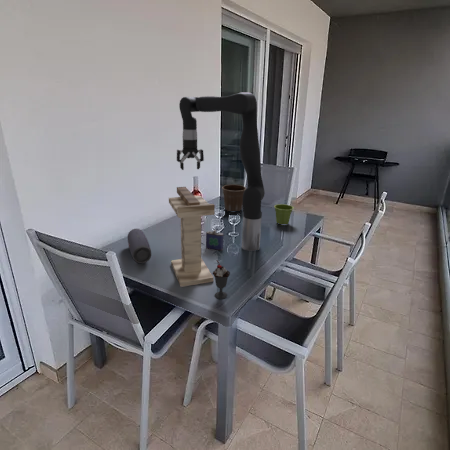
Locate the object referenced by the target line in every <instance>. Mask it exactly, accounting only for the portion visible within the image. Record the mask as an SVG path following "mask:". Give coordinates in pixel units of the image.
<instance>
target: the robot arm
mask: <svg viewBox="0 0 450 450" xmlns="http://www.w3.org/2000/svg"><path fill="white" fill-rule="evenodd" d="M179 112H180V115H181V119H182V149H180V150H179V149H176V161H177V162H178V163H179V165H180V166H179V167H180V169H181V171H184V169H185V167H184V162H185V160H186V159H195V160H196V169H197V170H200V168H201V162H204V161H205V157H204V150H203V149H202V148H200V149H198V130H197V125H198V123H197V118H195V117H194V116H193V115H192V113H198V112H201V113H215V112H227V113H232V114H236V115H241V116H242V130H241V135H240V140H239V152H240V153H239V154H240V161H241V163H242V165H243V169H244V170H245V174H246V179H247V180H246V181H247V186H246V189H245V191H244V193H243V205H242V214H243V216H242V230H241V231H242V233H241V248H242V249H243V251H247V252H255V250H259V251H260V245H261V234H262V230H261V229H262V219H263V218H262V217H263V216H262V214H263V211H262V201H263V199H264V197H265V194H266V193H265V186H264V182H263V178H262V177H263V175H262V165H261V163H262V162H261V151H260V150H261V149H260V141H259V140H260V139H259V132H258V131H259V130H258V103H257V98H256V96H255V95H254V94H253V93H251V92H244V91H243V92H242V91H241V92H239V93H235V94H231V95H227V96H226V95H225V96H215V95H214V96H209V95H207V96H200V97H198V96H197V97H196V96H195V97H194V96H183V97H181V99H180V100H179ZM198 153H199V157H200V158H199V157H198ZM181 154H183V155H182V157H181Z"/></svg>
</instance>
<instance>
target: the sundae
mask: <svg viewBox="0 0 450 450" xmlns="http://www.w3.org/2000/svg"><path fill="white" fill-rule="evenodd" d="M215 261H216V262H217V263H218V265H217V266H216V268H215V269H214V271H212V276H213V278H214V281H215V286H216V287H217V288H218V289H219V291H217V292H215V294H214V297H215V298H216V299H218V300H223V299H227V297H228V294H227V292H225V291H223V289H224V288H226V286H227V283H228V279H229V278H230V275H231V272H230V271H229V270H227V269H226V268H225V266H223V265H220V262H219V261H218V259H217V260H215Z"/></svg>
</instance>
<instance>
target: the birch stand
mask: <svg viewBox="0 0 450 450" xmlns="http://www.w3.org/2000/svg"><path fill="white" fill-rule="evenodd" d="M194 196H195V198H196V199H197V200H198V201H199V202H200V205H191V206H187V205H186V204H185V202H184V201H183V200H182V199H181V197H180V196H176V197H168V204H169V205H170V206H171V208H172V210H173V211H174V213H175V214H176V217H177V218H178V219H180V244H181V245H180V249H181V254H180V255H181V258H179V259H173V260H170V261H171V262H170V263H171V264H170V265H171V267H172V269H173V271H174V274H175V277H176V280H177V281H178V284H179V287H180V288H182V287H183V288H184V287H188V286H194V285H199V284H200V285H201V284H207V283H213V282H214V275H213V273H211V271H210V269H209V268H208V266H207V265H206V263H205V261H204V260H203V258H202V217H203V216H204V217H205V216H215V212H216V210H215V207H216V205H215V204H214V203H208V201H206V200H205V198H204V197H203V196H201V195H194Z"/></svg>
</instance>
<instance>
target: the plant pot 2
mask: <svg viewBox="0 0 450 450" xmlns="http://www.w3.org/2000/svg"><path fill="white" fill-rule="evenodd" d="M273 206H274V211H275V220H276V222H277V223H279V224H288V225H289V221H290V219H291V215H292V211H293V210H294V208H295V207H294V206H292V205H290V204H284V203H279V204H275V205H273ZM277 223H276V224H277Z"/></svg>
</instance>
